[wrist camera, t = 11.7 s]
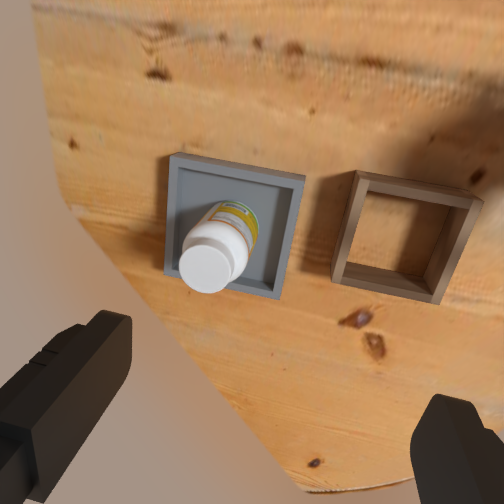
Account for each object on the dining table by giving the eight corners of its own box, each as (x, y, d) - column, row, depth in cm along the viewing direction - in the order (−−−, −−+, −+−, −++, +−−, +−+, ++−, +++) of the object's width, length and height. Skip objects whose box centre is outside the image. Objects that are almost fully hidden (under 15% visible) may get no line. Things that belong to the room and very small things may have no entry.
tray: (179, 152, 34) (169, 155, 32) (305, 175, 33) (304, 181, 31) (172, 264, 39) (163, 274, 37) (281, 288, 38) (279, 300, 36)
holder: (356, 169, 32) (359, 178, 29) (467, 190, 31) (484, 201, 28) (330, 265, 36) (331, 282, 33) (428, 286, 35) (439, 305, 32)
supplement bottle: (219, 258, 37) (189, 310, 28) (196, 210, 35) (156, 249, 27) (268, 241, 35) (252, 291, 27) (246, 190, 34) (221, 225, 25)
